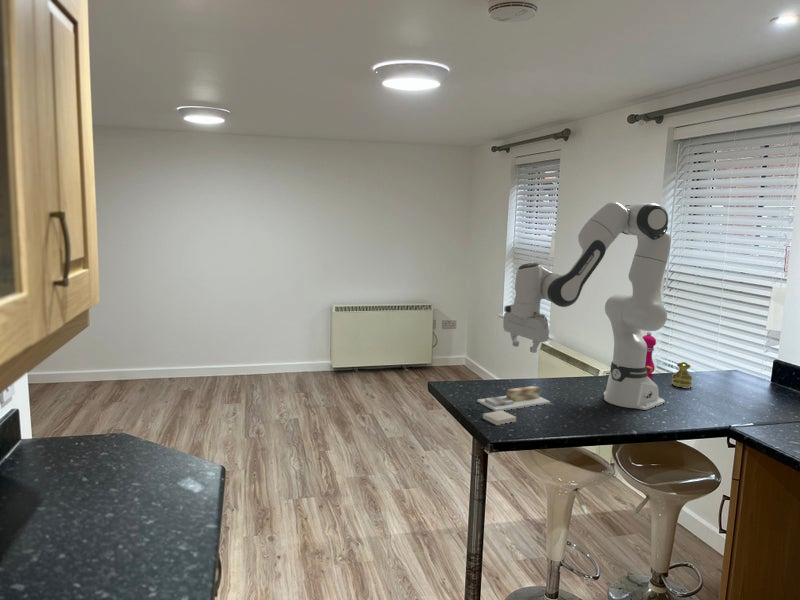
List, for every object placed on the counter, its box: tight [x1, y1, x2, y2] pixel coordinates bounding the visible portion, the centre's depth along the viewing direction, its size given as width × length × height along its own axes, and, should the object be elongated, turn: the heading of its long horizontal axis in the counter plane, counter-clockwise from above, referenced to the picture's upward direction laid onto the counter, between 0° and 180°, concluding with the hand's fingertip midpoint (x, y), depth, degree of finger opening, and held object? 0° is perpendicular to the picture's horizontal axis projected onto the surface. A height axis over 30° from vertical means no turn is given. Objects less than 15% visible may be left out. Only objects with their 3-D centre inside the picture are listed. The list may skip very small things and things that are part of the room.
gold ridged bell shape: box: [671, 361, 693, 388], centre depth 239 cm, size 7×7×10 cm
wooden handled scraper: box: [484, 385, 541, 407], centre depth 208 cm, size 21×6×4 cm, turn 118°
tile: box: [482, 410, 517, 426], centre depth 191 cm, size 2×7×8 cm
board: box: [476, 395, 551, 412], centre depth 208 cm, size 24×11×1 cm, turn 118°
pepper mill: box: [642, 331, 657, 380], centre depth 248 cm, size 7×7×20 cm
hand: (524, 349), depth 205 cm, fingers open, 8 cm apart
